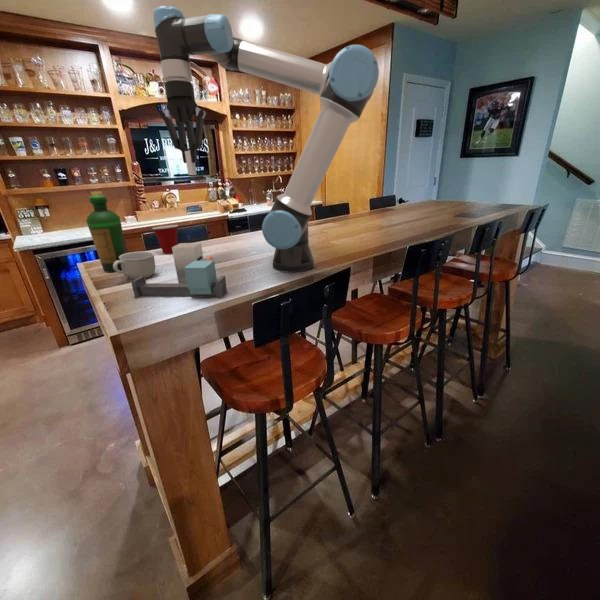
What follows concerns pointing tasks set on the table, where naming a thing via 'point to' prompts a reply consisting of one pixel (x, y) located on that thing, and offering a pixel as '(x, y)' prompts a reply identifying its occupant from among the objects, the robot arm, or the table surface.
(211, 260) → the button
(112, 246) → the bottle
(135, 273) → the teacup
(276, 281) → the table surface
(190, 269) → the carriage
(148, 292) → the rail
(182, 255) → the cabinet
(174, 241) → the plastic cup
